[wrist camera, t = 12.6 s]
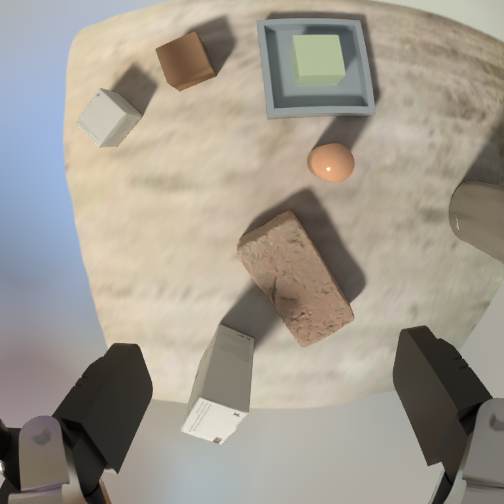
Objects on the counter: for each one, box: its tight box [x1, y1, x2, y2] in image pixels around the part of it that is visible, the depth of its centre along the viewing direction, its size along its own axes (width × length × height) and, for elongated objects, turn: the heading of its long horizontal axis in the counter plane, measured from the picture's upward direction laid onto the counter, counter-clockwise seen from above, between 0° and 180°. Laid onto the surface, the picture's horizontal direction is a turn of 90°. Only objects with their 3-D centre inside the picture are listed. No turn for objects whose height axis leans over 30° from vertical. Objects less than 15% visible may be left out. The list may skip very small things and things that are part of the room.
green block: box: [290, 35, 346, 86], centre depth 28 cm, size 5×5×5 cm
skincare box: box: [181, 324, 254, 444], centre depth 37 cm, size 8×6×15 cm
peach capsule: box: [307, 143, 354, 182], centre depth 32 cm, size 4×4×7 cm
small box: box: [76, 88, 142, 147], centre depth 32 cm, size 6×6×5 cm
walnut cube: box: [156, 31, 216, 91], centre depth 30 cm, size 5×5×5 cm
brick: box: [237, 210, 354, 347], centre depth 38 cm, size 17×8×5 cm, turn 34°
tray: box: [256, 18, 376, 119], centre depth 30 cm, size 13×13×3 cm
